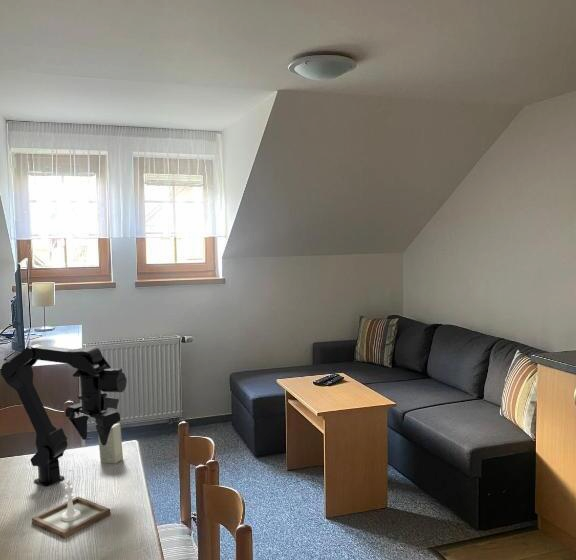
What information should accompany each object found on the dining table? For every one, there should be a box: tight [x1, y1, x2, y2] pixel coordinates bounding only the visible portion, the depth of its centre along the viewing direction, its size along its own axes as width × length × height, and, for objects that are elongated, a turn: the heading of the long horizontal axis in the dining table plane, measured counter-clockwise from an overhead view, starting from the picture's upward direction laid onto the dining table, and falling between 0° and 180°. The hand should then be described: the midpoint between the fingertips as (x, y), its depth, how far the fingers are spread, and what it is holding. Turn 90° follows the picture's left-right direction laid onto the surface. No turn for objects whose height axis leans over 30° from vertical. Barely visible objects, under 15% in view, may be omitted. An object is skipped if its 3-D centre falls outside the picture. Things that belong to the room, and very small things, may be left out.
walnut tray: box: [31, 496, 112, 540], centre depth 152 cm, size 14×14×2 cm
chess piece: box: [61, 479, 81, 521], centre depth 152 cm, size 5×5×10 cm
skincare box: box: [97, 422, 124, 464], centre depth 190 cm, size 6×4×12 cm
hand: (94, 442), depth 172 cm, fingers open, 9 cm apart
